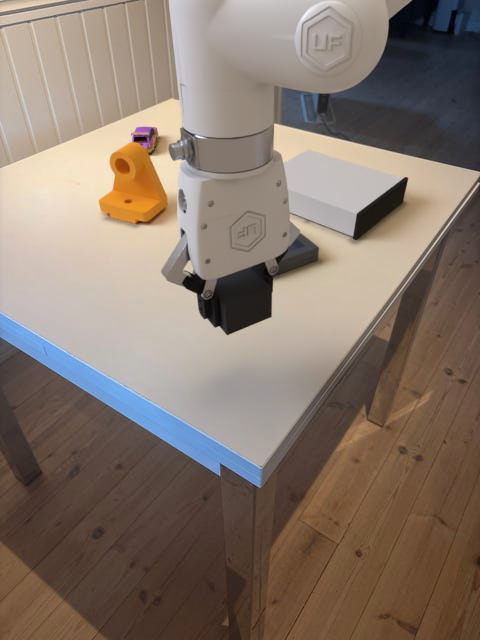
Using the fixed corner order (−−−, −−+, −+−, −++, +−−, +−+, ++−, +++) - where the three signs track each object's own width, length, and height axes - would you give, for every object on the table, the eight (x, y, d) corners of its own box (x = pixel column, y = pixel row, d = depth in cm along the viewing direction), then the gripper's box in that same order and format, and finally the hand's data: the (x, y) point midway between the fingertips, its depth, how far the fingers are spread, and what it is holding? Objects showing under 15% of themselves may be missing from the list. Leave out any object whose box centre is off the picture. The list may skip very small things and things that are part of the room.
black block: (245, 290, 56) (244, 261, 53) (271, 317, 52) (272, 287, 50) (203, 306, 54) (199, 277, 51) (227, 335, 50) (225, 305, 48)
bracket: (99, 214, 92) (85, 152, 84) (121, 198, 97) (110, 137, 89) (147, 226, 88) (137, 162, 80) (168, 208, 93) (160, 146, 85)
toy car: (160, 136, 121) (158, 117, 118) (153, 155, 112) (151, 135, 109) (138, 136, 121) (135, 117, 118) (129, 155, 112) (126, 135, 109)
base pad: (283, 232, 86) (284, 220, 84) (317, 260, 80) (319, 247, 78) (234, 248, 82) (234, 236, 81) (266, 279, 76) (266, 265, 74)
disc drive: (356, 240, 84) (361, 214, 81) (255, 200, 95) (255, 176, 92) (403, 202, 94) (409, 177, 91) (306, 170, 105) (308, 147, 102)
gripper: (151, 186, 35) (179, 360, 47) (338, 136, 41) (321, 301, 53) (116, 152, 40) (150, 318, 52) (288, 111, 46) (283, 268, 58)
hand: (236, 308), depth 53 cm, fingers closed on black block, 5 cm apart
